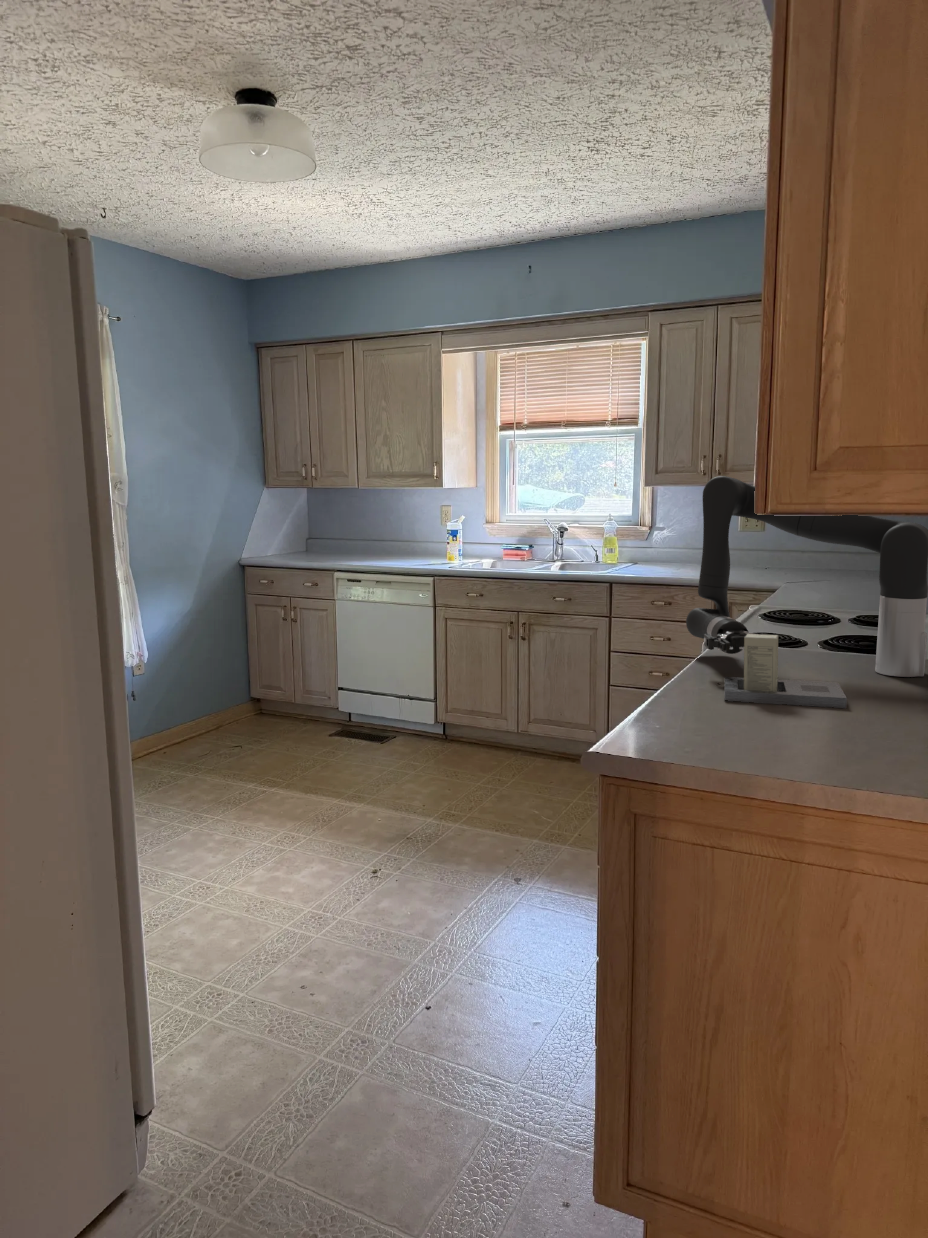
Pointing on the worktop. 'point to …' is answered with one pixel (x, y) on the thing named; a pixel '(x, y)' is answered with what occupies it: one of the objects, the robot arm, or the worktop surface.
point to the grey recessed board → (788, 693)
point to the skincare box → (760, 662)
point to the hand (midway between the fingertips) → (748, 647)
